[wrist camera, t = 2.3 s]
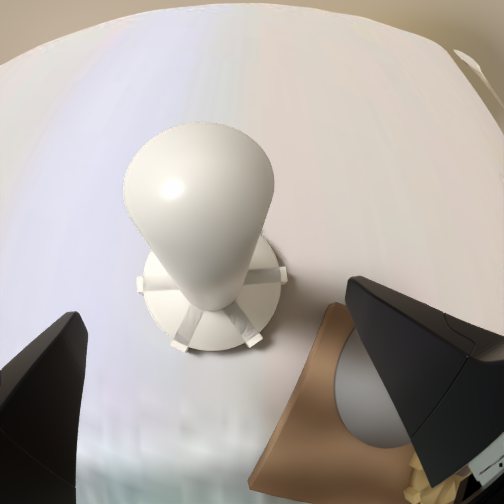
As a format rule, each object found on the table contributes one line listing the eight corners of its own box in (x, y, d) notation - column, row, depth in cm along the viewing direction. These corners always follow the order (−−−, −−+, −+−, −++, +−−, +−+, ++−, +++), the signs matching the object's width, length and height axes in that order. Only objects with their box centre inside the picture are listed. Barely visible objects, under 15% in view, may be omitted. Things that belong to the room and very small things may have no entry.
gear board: (449, 501, 14) (474, 512, 10) (247, 480, 15) (254, 508, 11) (504, 354, 20) (533, 350, 16) (339, 273, 21) (365, 256, 17)
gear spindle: (242, 377, 18) (282, 437, 6) (123, 317, 18) (-6, 266, 6) (298, 249, 21) (386, 130, 9) (187, 199, 21) (163, 50, 9)
